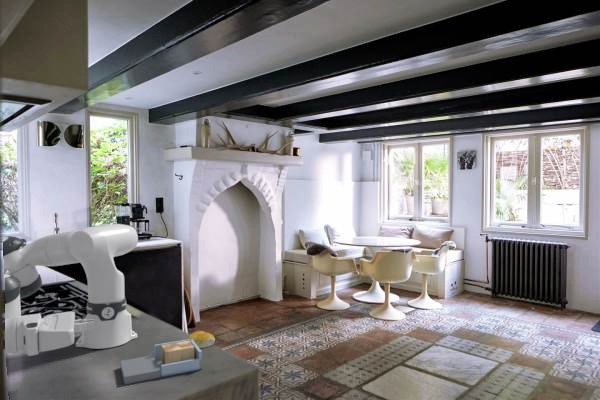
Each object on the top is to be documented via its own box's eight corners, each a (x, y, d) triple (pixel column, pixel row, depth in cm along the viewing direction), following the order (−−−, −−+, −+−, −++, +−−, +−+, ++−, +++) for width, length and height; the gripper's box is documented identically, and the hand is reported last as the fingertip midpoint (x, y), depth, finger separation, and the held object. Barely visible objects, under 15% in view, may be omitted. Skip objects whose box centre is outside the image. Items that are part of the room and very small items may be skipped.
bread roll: (203, 338, 147) (202, 326, 147) (218, 344, 141) (218, 332, 141) (181, 344, 141) (181, 332, 141) (197, 351, 135) (197, 338, 135)
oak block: (161, 345, 125) (189, 340, 128) (162, 362, 125) (189, 357, 128) (165, 352, 119) (194, 346, 123) (165, 369, 119) (194, 364, 123)
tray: (154, 361, 126) (154, 344, 126) (192, 354, 132) (191, 338, 131) (161, 377, 116) (161, 358, 116) (202, 369, 121) (201, 351, 121)
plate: (120, 367, 122) (120, 360, 122) (153, 361, 126) (153, 355, 126) (124, 384, 112) (124, 377, 112) (160, 377, 116) (160, 370, 116)
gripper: (37, 333, 116) (93, 325, 122) (28, 358, 98) (96, 347, 104) (36, 310, 116) (93, 302, 122) (27, 331, 98) (95, 321, 104)
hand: (94, 323), depth 113 cm, fingers closed
